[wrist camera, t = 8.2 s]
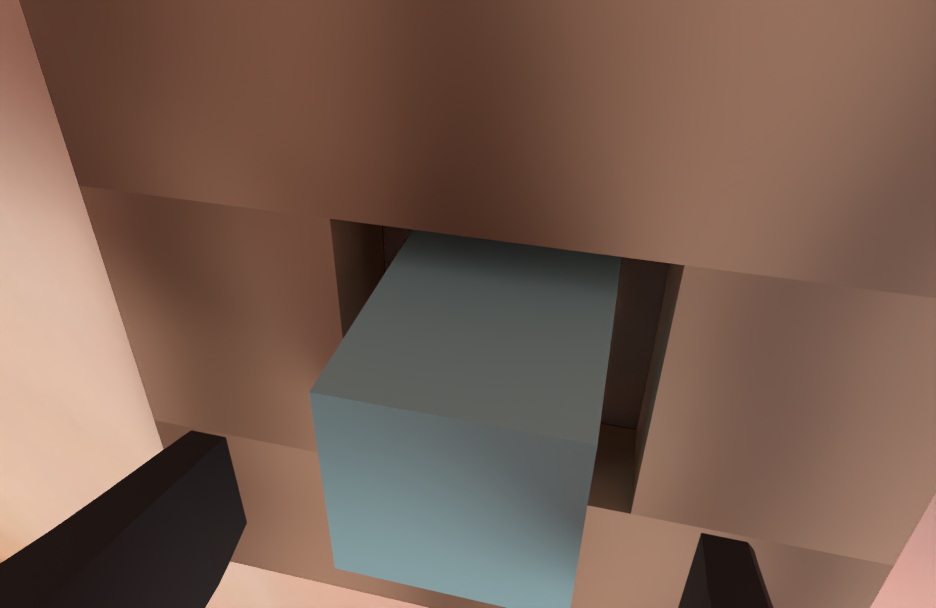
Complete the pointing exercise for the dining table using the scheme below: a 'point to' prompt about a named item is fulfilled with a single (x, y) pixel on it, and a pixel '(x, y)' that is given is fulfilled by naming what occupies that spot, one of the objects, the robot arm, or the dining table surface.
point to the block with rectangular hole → (539, 244)
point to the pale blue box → (469, 419)
